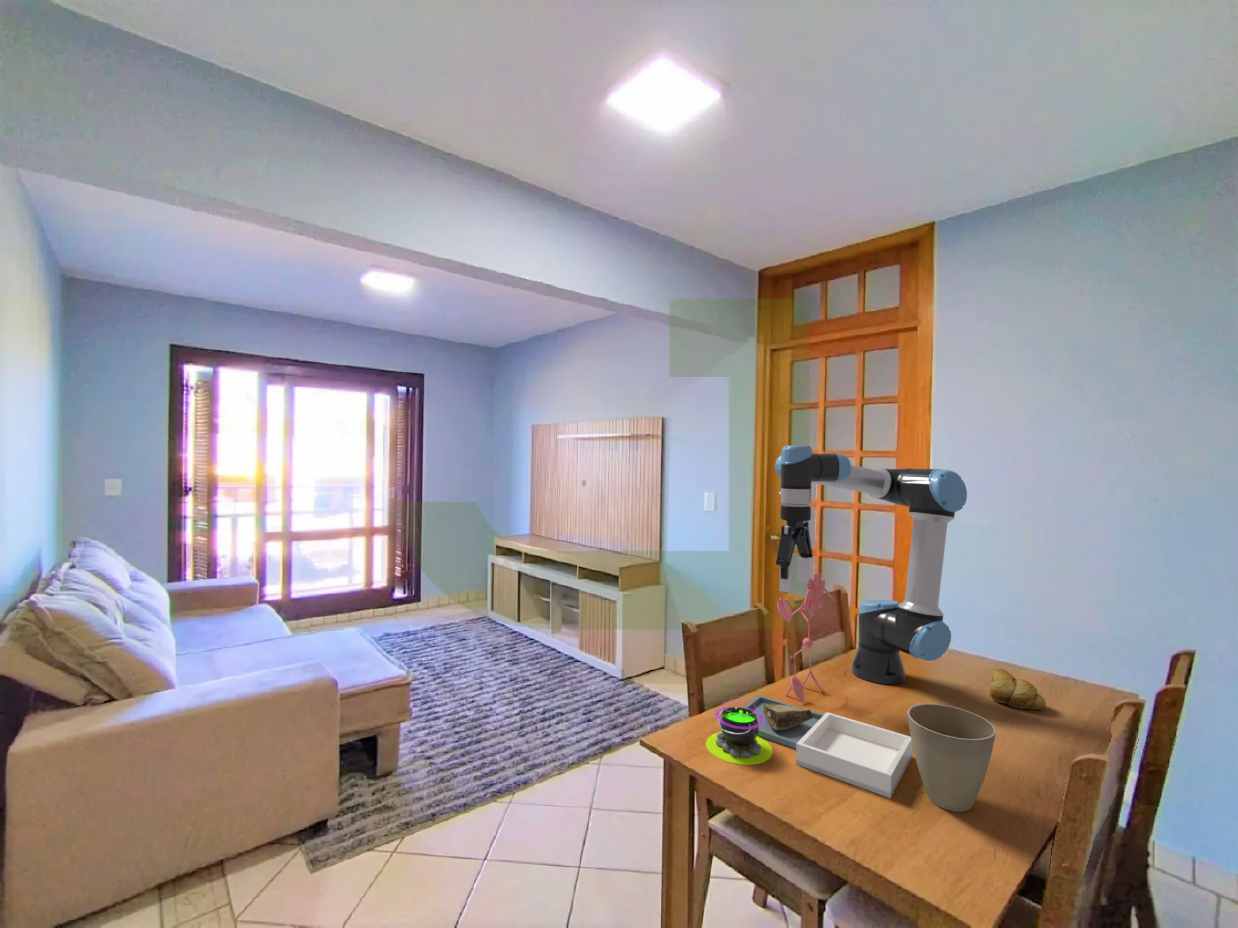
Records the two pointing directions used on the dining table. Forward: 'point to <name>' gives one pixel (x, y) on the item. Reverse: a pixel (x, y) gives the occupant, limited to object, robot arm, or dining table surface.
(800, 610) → the flower sculpture
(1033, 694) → the bread roll
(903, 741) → the dish
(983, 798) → the dining table surface
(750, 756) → the toy cauldron
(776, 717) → the rock
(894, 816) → the dining table surface
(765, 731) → the tray
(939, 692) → the dining table surface
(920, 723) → the plant pot
